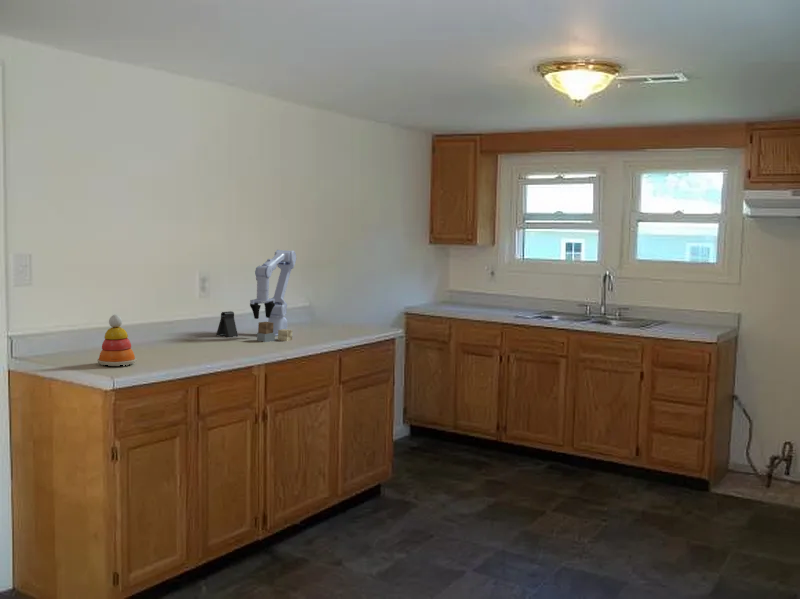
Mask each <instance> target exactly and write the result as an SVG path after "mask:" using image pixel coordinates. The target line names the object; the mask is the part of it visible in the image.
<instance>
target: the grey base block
mask: <svg viewBox="0 0 800 599" xmlns="http://www.w3.org/2000/svg"><path fill="white" fill-rule="evenodd" d="M257 340H258V341H257ZM256 341H257V342H261V341H263V343H269V342H270V341H271V342H275V341H276V336H275V333H270V334H263V333H258V332H257V333H256ZM271 342H270V343H271Z"/></svg>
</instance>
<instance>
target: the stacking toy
mask: <svg viewBox="0 0 800 599" xmlns="http://www.w3.org/2000/svg"><path fill="white" fill-rule="evenodd" d="M122 324H123V320H122V317H121V316H120V315H118V314H112V315H111V316H110V317H109V319H108V325H109V326H110V328H108V329H107V330H106V332H105V334H104V340H103V342H102V344H101V349H102V350H101V351H100V352H99V357H98V358H97V363H98V364H99V365H101V366H103V365H108V366H107V367H121V366H120V365H126V366H129V364H130V365H133V364H135V363H136V362H137V358H136V357H135V352H134V351H133V349H132V344H131V341H130V339H129V336H128V332H127V331H126V330H125V329H124V328H123V327H121V326H122Z"/></svg>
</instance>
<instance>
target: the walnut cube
mask: <svg viewBox="0 0 800 599" xmlns="http://www.w3.org/2000/svg"><path fill="white" fill-rule="evenodd" d="M257 326H258V329H257V330H258V332H257V333H263V334H270V333H273V323H272V322H268V321H260V322H258V325H257Z"/></svg>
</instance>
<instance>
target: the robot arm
mask: <svg viewBox="0 0 800 599" xmlns="http://www.w3.org/2000/svg"><path fill="white" fill-rule="evenodd" d="M296 260H297V254H296V251H295V250H284V249H283V250H282V249H276V250H275V252H274V256H272V258H267V260H266V261H265V262H264V263H263V264H261V265H258V266H257V267H256V268H255V271H254V272H255V279H256V298H255V299H250V301H249V307H250V308H251V310H252V313H253V318H254V319H255V320H258V319H259V317H260V316H259V315H260V310H261V305H260V304H264V314H265V318H268V320H267V322H272V323H273V333H275V337H276V336H277V337H278V330H282V329H287V330H288V319H287V318H286V315H287V313H288V312H287V310H288V308H287V307H288V303H287V302H286V300H285V295H286V291H287V287H288V284H289V280H290V276H291V272H292V270H293V269H294V268H295V265H296ZM277 268H278V269H280V271H279V276H278V280H277V284H276V286H275V291H274V293H273V294H274V295H273V297H272V298H269V297H270V296H269V295H270V293H269V292H270V278H271V276H272V275H273V274H272V273H273V272H274V271H275V270H276V269H277Z"/></svg>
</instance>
